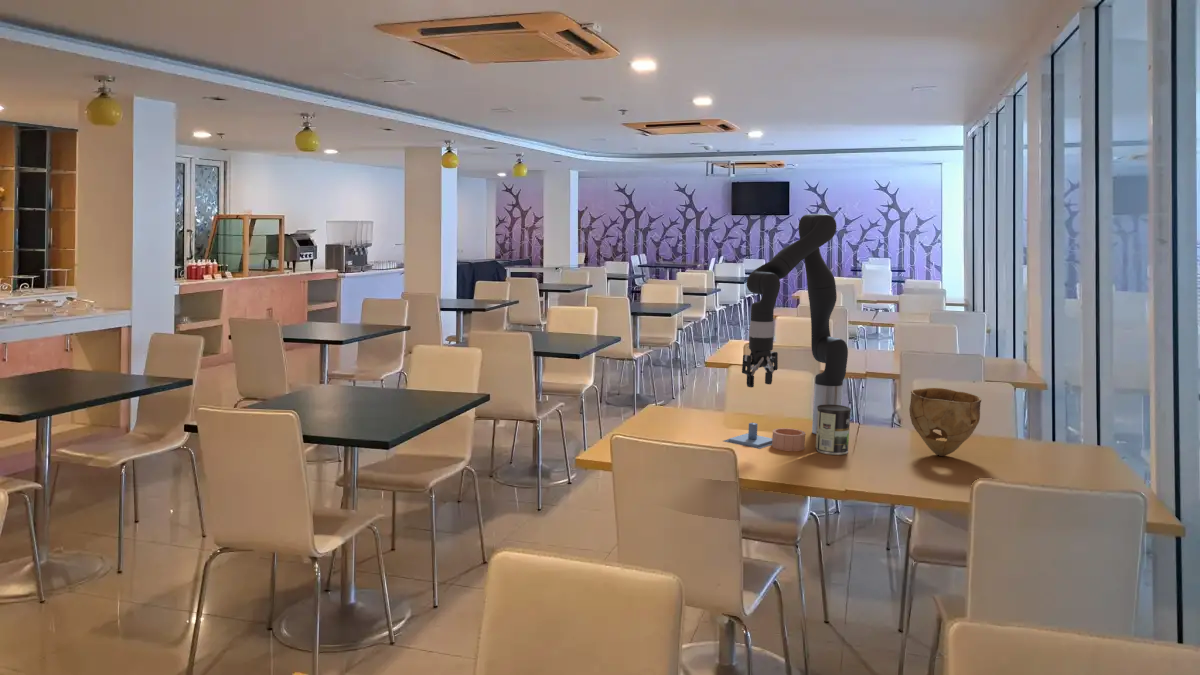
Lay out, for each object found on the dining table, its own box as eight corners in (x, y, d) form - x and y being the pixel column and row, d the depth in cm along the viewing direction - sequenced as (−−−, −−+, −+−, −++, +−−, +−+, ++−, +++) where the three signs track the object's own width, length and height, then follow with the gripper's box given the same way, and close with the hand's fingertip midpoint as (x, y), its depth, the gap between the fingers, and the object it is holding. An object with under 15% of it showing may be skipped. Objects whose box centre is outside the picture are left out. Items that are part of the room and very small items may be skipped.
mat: (745, 435, 313) (745, 434, 313) (782, 443, 304) (782, 441, 304) (722, 442, 302) (722, 441, 302) (759, 450, 293) (759, 448, 293)
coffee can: (847, 448, 299) (849, 405, 298) (849, 456, 289) (852, 411, 288) (814, 445, 301) (816, 403, 300) (815, 453, 291) (817, 409, 290)
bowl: (975, 452, 299) (979, 390, 296) (978, 467, 280) (983, 402, 277) (906, 445, 306) (911, 385, 303) (905, 459, 287) (910, 396, 284)
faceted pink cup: (782, 443, 304) (783, 426, 303) (810, 449, 297) (811, 432, 296) (765, 448, 296) (766, 431, 295) (794, 454, 290) (795, 437, 289)
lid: (747, 435, 311) (747, 418, 310) (775, 441, 303) (776, 424, 303) (728, 441, 302) (729, 423, 302) (757, 447, 295) (758, 429, 294)
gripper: (767, 332, 302) (765, 381, 304) (737, 335, 293) (735, 386, 295) (785, 334, 296) (783, 385, 298) (755, 338, 287) (753, 390, 289)
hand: (759, 385), depth 297 cm, fingers open, 8 cm apart
